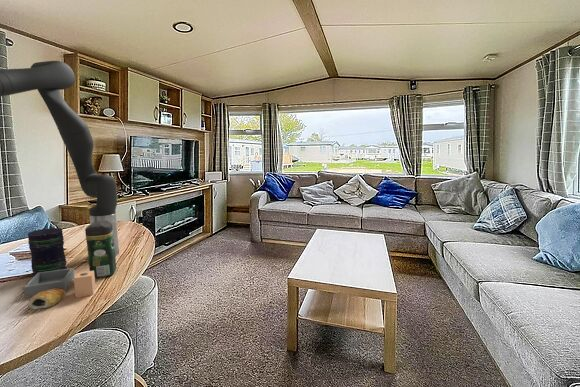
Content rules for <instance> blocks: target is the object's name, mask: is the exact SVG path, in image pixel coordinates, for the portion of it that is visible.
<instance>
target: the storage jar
mask: <svg viewBox="0 0 580 387" xmlns="http://www.w3.org/2000/svg"><path fill="white" fill-rule="evenodd" d="M27 237H28V238H27V239H28V243H27V244H28V246H29V250H30V255H31V270H32V271H31V272H32V276H33V277H34V276H35V275H36V274H37V273H38V272H46V271H54V270H62V269H68V268H67V259H66V254H65V249H64V244H65V240H64V239H65V238H64V234H63V229H62V228H59V227H50V228H48V227H47V228H42V229H36V230H33V231H30V232H28V233H27Z"/></svg>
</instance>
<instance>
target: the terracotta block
mask: <svg viewBox="0 0 580 387" xmlns="http://www.w3.org/2000/svg"><path fill="white" fill-rule="evenodd" d="M74 276H75V277H74V279H73V286H74V294H75V298H81V297H87V296H93V295H94V294H95V291H96V289H97V288H96V278H95V275H94V271H82V272H76V273H75V274H74Z"/></svg>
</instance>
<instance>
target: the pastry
mask: <svg viewBox="0 0 580 387" xmlns="http://www.w3.org/2000/svg"><path fill="white" fill-rule="evenodd" d="M64 296H65V292H64V290H63V289H57V288H53V289H49V290H46V291H42V292H39V293H38V294H36V295H34V296H32V297H31V299H30V300H29V302H28V304H27V307H28V308H29V309H30V310H39V309H49V308H52V307H53V306H55V305H57V303H60V302H61V301H62V299H64Z"/></svg>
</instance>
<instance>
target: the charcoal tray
mask: <svg viewBox="0 0 580 387" xmlns="http://www.w3.org/2000/svg"><path fill="white" fill-rule="evenodd" d="M74 277H75V268H74V267H72V268H67V269H62V270H54V271H46V272H38V273H37V274H36V275H35V276H33V277H32V278H31V279H30V280H29V281H28V282H27V284H26V285H24V287H23V290H24V296H25V297H24V298H32V297H33V296H34V295H36V294H38V293H39V292H42V291H46V290H49V289H53V288H57V289H63V290H64V293H65V292H66V291H67V290H68V289H69V287H70V285H71V283H72V282H73V281H74Z"/></svg>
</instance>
